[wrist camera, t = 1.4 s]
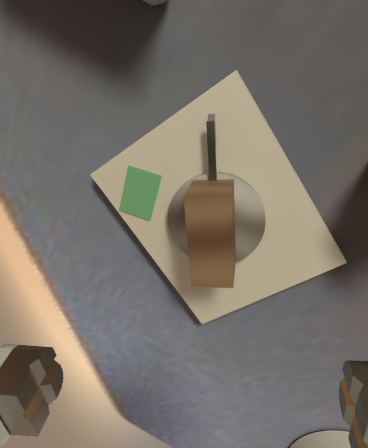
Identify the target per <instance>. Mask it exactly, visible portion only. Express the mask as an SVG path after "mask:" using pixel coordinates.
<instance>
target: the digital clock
mask: <svg viewBox="0 0 368 448" xmlns="http://www.w3.org/2000/svg"><path fill="white" fill-rule="evenodd" d="M143 1H145V2H146V3H148V4H150V5H153V6H155V5H159V4H162V3H165V2H167V0H143Z"/></svg>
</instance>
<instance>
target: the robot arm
mask: <svg viewBox="0 0 368 448" xmlns="http://www.w3.org/2000/svg"><path fill="white" fill-rule="evenodd" d="M55 357H56V353H55V351H54V350H53V348H52V347H39V346H27V345H11V344H3V345H1V346H0V446H1V445H2V444H3V443H4V442H5V441H6V440H7V439H8V438H9V437H10V435H25V436H39V433H40V431H41V430H42V427H43V426H44V423H45V421H46V419H47V417H48V415H49V407H48V405H49V404H50V403H52V402H53V401H54V400H55V399H56V398H57V397H58V395H59V392H60V390H61V387H62V382H63V370H62V368H61V365H59V364H58V363H57V362H56V361H55V360H54V358H55ZM343 374H344V377H345V378H344V379H343V380H341V381H340V386H339V401H340V407H341V412H342V416H343V420H344V421H345V422H346V423H347V424H348V425H349V426H350V427H351V428H350V432H347V431H336V430H331V431H320V432H315V433H311V434H308V435H306V436H304V437H301V438H300V439H298V440H297V441H295V442H294V443H293V444H292V445H291V446H290V448H368V361H345V362H344V365H343Z"/></svg>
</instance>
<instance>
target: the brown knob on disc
mask: <svg viewBox="0 0 368 448" xmlns="http://www.w3.org/2000/svg"><path fill="white" fill-rule="evenodd" d="M206 127H207V147H208V167H209V172H208V173H204V174H200V175H197V176H195V177H193V178H191V179H189V180H188V181H186V182H185V183H184V184H183V185H182V186H181V187H180V188H179V189H178V190H177V192H176V193H175V195H174V197H173V198H172V200H171V202H170V205H169V209H168V215H167V222H168V228H169V231H170V234H171V236H172V239H173V240H174V242H175V243H176V245H177V246H178V247H179V248H180V249H181V250H182V251H183V252H184V253H185V254H186V255H188V257H189V269H190V281H191V287H214V288H233V287H234V276H235V265H236V262H238V261H240V260H242V259H244V258H246V257H247V256H248V255H250V254H251V253H252V252H253V251H254V250H255V249H256V247H257V246H258V245H259V243H260V241H261V240H262V237H263V235H264V231H265V223H266V221H265V211H264V206H263V203H262V201H261V199H260V197H259V195H258V194H257V192H256V191H255V190H254V189H253V188H252V187H251V185H249V184H248V183H247V182H246V181H244V180H242V179H241V178H239V177H237V176H234V175H231V174H228V173H222V172H217V171H216V146H215V121H206Z"/></svg>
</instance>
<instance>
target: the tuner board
mask: <svg viewBox="0 0 368 448" xmlns="http://www.w3.org/2000/svg"><path fill="white" fill-rule="evenodd" d="M206 121H215V146H216V171H217V172H222V173H228V174H231V175H234V176H237V177H239V178H241V179H242V180H244V181H246V182H247V183H248V184H249V185H251V187H252V188H253V189H254V190H255V191H256V192H257V194H258V195H259V197H260V199H261V201H262V203H263V206H264V211H265V221H266V223H265V231H264V235H263V237H262V240H261V241H260V243H259V245H258V246H257V247H256V249H255V250H254V251H253V252H252V253H251V254H250V255H248V256H247V257H246V258H244V259H242V260H240V261H238V262H236V265H235V276H234V287H233V288H214V287H191V281H190V269H189V257H188V255H186V254H185V253H184V252H183V251H182V250H181V249H180V248H179V247H178V246H177V245H176V243H175V242H174V240H173V239H172V236H171V234H170V231H169V228H168V222H167V215H168V209H169V205H170V202H171V200H172V198H173V197H174V195H175V193H176V192H177V190H178V189H179V188H180V187H181V186H182V185H183V184H184V183H185V182H186V181H188V180H189V179H191V178H193V177H195V176H197V175H200V174H204V173H208V172H209V167H208V147H207V127H206ZM91 177H92V178H93V179H94V181H95V182H96V183H97V185H98V186H99V187H100V189H101V190H102V191H103V193H104V194H105V195H106V197H107V198H108V199H109V201H110V202H111V203H112V205H113V206H114V207H115V209H116V210H117V211H118V213H119V214H120V215H121V217H122V218H123V219H124V221H125V222H126V223H127V225H128V226H129V227H130V229H131V230H132V231H133V233H134V234H135V235H136V237H137V238H138V239H139V241H140V242H141V243H142V245H143V246H144V247H145V249H146V250H147V251H148V253H149V254H150V255H151V257H152V258H153V259H154V261H155V262H156V263H157V265H158V266H159V267H160V269H161V270H162V271H163V273H164V274H165V275H166V277H167V278H168V279H169V281H170V282H171V283H172V285H173V286H174V287H175V289H176V290H177V291H178V293H179V294H180V295H181V297H182V298H183V299H184V301H185V302H186V303H187V305H188V306H189V307H190V309H191V310H192V311H193V313H194V314H195V315H196V317H197V318H198V319H199V321H200V322H201V323H202V324H204V323H206V322H209V321H211V320H213V319H216V318H218V317H220V316H223V315H225V314H228V313H230V312H232V311H235V310H237V309H239V308H242V307H244V306H246V305H249V304H251V303H253V302H256V301H258V300H260V299H263V298H265V297H268V296H270V295H272V294H275V293H277V292H279V291H282V290H284V289H286V288H289V287H291V286H293V285H296V284H298V283H301V282H303V281H305V280H308V279H310V278H312V277H315V276H317V275H319V274H322V273H324V272H326V271H329V270H331V269H333V268H336V267H338V266H341V265H343V264H345V263H347V262H346V260H345V258H344V256H343V254H342V252H341V250H340V249H339V247H338V245H337V243H336V242H335V240H334V238H333V236H332V235H331V233H330V231H329V229H328V228H327V226H326V224H325V222H324V221H323V219H322V217H321V216H320V214H319V212H318V210H317V209H316V207H315V205H314V203H313V202H312V200H311V198H310V196H309V195H308V193H307V191H306V190H305V188H304V186H303V184H302V183H301V181H300V179H299V177H298V176H297V174H296V172H295V170H294V169H293V167H292V165H291V163H290V162H289V160H288V158H287V157H286V155H285V153H284V151H283V150H282V148H281V146H280V144H279V143H278V141H277V139H276V137H275V136H274V134H273V132H272V130H271V129H270V127H269V125H268V124H267V122H266V120H265V118H264V117H263V115H262V113H261V111H260V110H259V108H258V106H257V104H256V103H255V101H254V99H253V98H252V96H251V94H250V92H249V91H248V89H247V87H246V85H245V84H244V82H243V80H242V78H241V77H240V75H239V73H238V71H237V70H236V71H234V72H233V73H232V74H230V75H229V76H227V77H226V78H225V79H223V80H222V81H220V82H219V83H218V84H216V85H215V86H213V87H212V88H211V89H209V90H208V91H206V92H205V93H204V94H202V95H201V96H199V97H198V98H197V99H195V100H194V101H193V102H191V103H190V104H188V105H187V106H186V107H184V108H183V109H181V110H180V111H179V112H177V113H176V114H174V115H173V116H172V117H170V118H169V119H167V120H166V121H165V122H163V123H162V124H160V125H159V126H158V127H156V128H155V129H153V130H152V131H151V132H149V133H148V134H146V135H145V136H144V137H142V138H141V139H139V140H138V141H137V142H135V143H134V144H132V145H131V146H130V147H128V148H127V149H126V150H124V151H123V152H121V153H120V154H119V155H117V156H116V157H114V158H113V159H112V160H110V161H109V162H107V163H106V164H105V165H103V166H102V167H100V168H99V169H98V170H96V171H95V172H93V173H92V174H91Z"/></svg>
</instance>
